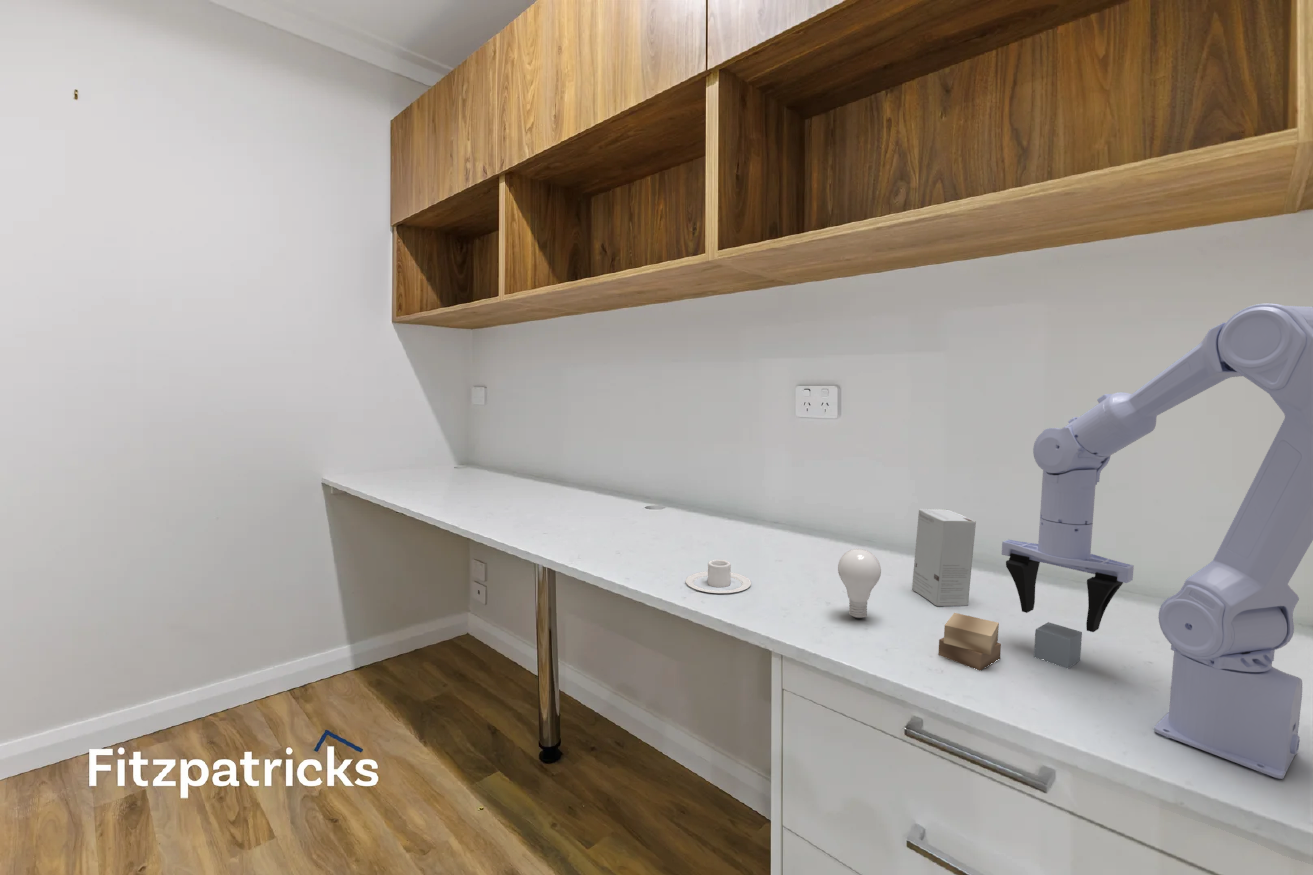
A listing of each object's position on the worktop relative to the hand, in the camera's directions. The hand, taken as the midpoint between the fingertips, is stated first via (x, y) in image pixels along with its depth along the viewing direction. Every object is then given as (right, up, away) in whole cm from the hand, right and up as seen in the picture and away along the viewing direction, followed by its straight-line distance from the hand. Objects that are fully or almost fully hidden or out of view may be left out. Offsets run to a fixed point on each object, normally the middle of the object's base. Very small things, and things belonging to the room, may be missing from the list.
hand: (1058, 619), depth 79 cm
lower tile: (-11, -6, +1) cm, 13 cm away
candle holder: (-42, -3, +30) cm, 52 cm away
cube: (0, -5, 0) cm, 6 cm away
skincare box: (-5, -4, +23) cm, 23 cm away
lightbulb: (-22, -4, +14) cm, 27 cm away
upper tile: (-11, -3, +1) cm, 12 cm away
